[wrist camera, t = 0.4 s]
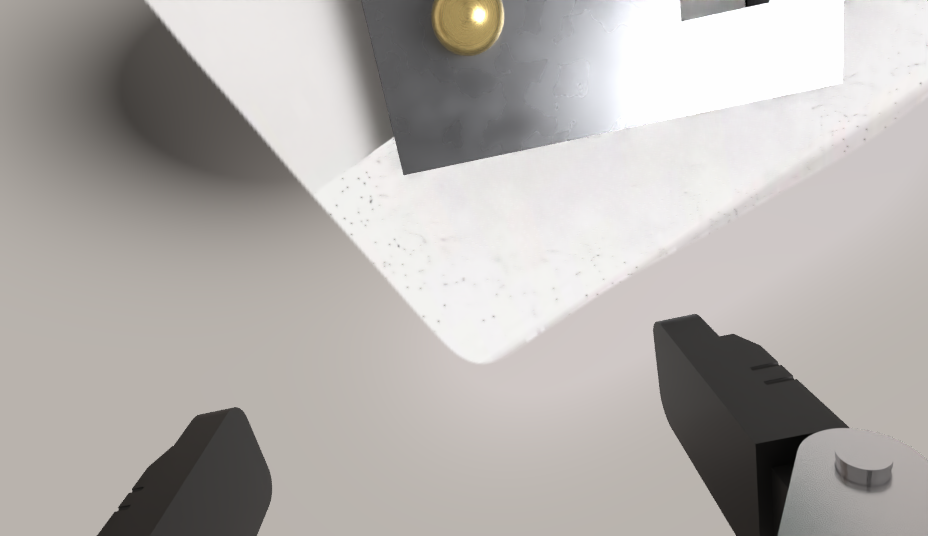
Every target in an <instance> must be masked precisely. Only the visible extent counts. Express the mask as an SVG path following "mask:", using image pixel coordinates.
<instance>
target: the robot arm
mask: <svg viewBox="0 0 928 536" xmlns="http://www.w3.org/2000/svg"><path fill="white" fill-rule="evenodd" d="M653 332H654V342H655V352H656V360H657V370H658V378H659V387H660V394H661V400H662V404H663V408H664V411H665V414H666V417H667V420H668V422H669V424H670V426H671V428H672V430H673V431H674V433H675V435H676V436H677V438H678V439H679V441H680V443H681V444H682V446H683V448H684V450H685V451H686V453H687V455H688V456H689V458H690V460H691V461H692V463H693V464H694V466H695V468H696V470H697V471H698V473H699V475H700V476H701V478H702V480H703V481H704V483H705V484H706V486H707V488H708V490H709V491H710V493H711V495H712V496H713V498H714V499H715V501H716V503H717V505H718V506H719V508H720V509H721V511H722V513H723V514H724V516H725V518H726V520H727V521H728V523H729V525H730V526H731V528H732V529H733V531H734V533H735V534H736V536H928V460H927V459H926V458H925V457H924V456H923V455H922V454H920V453H919V452H918V451H916V450H915V449H914V448H912V447H911V446H909V445H907V444H905V443H903V442H901V441H899V440H897V439H895V438H892V437H890V436H887V435H884V434H881V433H877V432H873V431H869V430H863V429H854V428H849V427H848V426H847V425H846V424H845V423H844V422H843V421H842V420H840V419H839V418H838V417H837V416H836V415H835V414H834V413H833V412H832V411H831V410H830V409H828V408H827V407H826V406H825V405H824V404H823V403H822V402H821V401H820V400H819V399H818V398H817V397H815V396H814V395H813V394H812V393H811V392H810V391H809V390H808V389H807V388H806V387H804V385H802V384H801V383H800V382H799V381H798V380H797V379H796V380H794V379H793V375H791V374H790V373H789V372H788V371H787V370H786V369H785V368H784V367H783V366H782V365H778V362H777V361H776V360H775V359H774V358H773V357H772V356H771V355H770V354H769V353H768V352H767V351H765V350H764V349H763V348H762V347H761V346H760V345H758V344H756V343H753V342H751V341H749V340H746V339H744V338H742V337H739V336H737V335H735V334H730V335H726V336H720V337H719V336H718V335H717V334H716V333H715V332H714V331H713V330H712V329H711V327H710V326H709V325H707V323H706V322H705V321H704V320H703V319H702V318H701V317H700V316H699V315H697V314H692V315H688V316H683V317H678V318H673V319H668V320H663V321H659V322H655V324H654V328H653ZM271 495H272V481H271V475H270V472H269V469H268V466H267V464H266V461H265V459H264V457H263V454H262V452H261V450H260V447H259V445H258V443H257V440H256V438H255V436H254V433H253V431H252V428H251V426H250V424H249V421H248V419H247V417H246V415H245V414H244V412H243V411H242V410H241V409H240V408H236V407H234V408H230V409H225V410H220V411H215V412H210V413H206V414H200V415H197V416H196V417H195V418H194V419H193V420H192V421H191V423H190V424H189V425H188V427H187V428H186V429H185V431H184V432H183V434H182V435H181V437H180V438H179V439H178V441H177V442H176V443H175V445H174V446H172V447H171V448H170V449H169V450H168V451H166V452H165V453H164V454H163V455H162V456H161V457H159V458H158V459H157V460H156V461H155V462H154V463H153V464H151V465H150V466H149V467H148V468H147V469H146V471H145V472H144V473H143V475H142V476H141V478H140V479H139V480H138V482H137V483H136V484H135V486H134V487H133V488H132V493H129V494H128V495H127V496H126V498H125V499H124V500H123V502H122V503H121V504H120V506H119V507H118V508H119V511H117V512H114V514H113V515H112V516H111V518H110V519H109V520H108V522H107V523H106V524H105V526H104V527H103V528H102V530H101V531H100V532H99V534H98V535H97V536H257V534H258V531H259V529H260V526H261V524H262V522H263V519H264V517H265V514H266V512H267V509H268V507H269V504H270V501H271Z"/></svg>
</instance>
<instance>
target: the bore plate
mask: <svg viewBox="0 0 928 536" xmlns="http://www.w3.org/2000/svg"><path fill="white" fill-rule="evenodd" d="M433 3H434V0H362V5H363V9H364V13H365V17H366V21H367V25H368V29H369V34H370V38H371V42H372V46H373V50H374V54H375V59H376V63H377V67H378V71H379V75H380V79H381V83H382V88H383V92H384V96H385V100H386V104H387V108H388V112H389V117H390V121H391V125H392V129H393V133H394V137H395V141H396V146H397V150H398V154H399V158H400V162H401V166H402V170H403V175H407V174H412V173H416V172H421V171H426V170H431V169H436V168H440V167H445V166H450V165H455V164H459V163H464V162H469V161H474V160H478V159H483V158H488V157H493V156H498V155H502V154H507V153H512V152H517V151H521V150H526V149H531V148H536V147H541V146H545V145H550V144H555V143H560V142H564V141H569V140H574V139H579V138H583V137H588V136H593V135H598V134H603V133H607V132H612V131H617V130H622V129H626V128H631V127H636V126H641V125H646V124H650V123H655V122H660V121H665V120H669V119H674V118H679V117H684V116H688V115H693V114H698V113H703V112H708V111H712V110H717V109H722V108H727V107H731V106H736V105H741V104H746V103H751V102H755V101H760V100H765V99H770V98H774V97H779V96H784V95H789V94H793V93H798V92H803V91H808V90H813V89H817V88H822V87H827V86H832V85H836V84H841V83H843V33H844V0H745V8H742V9H737V10H733V11H728V12H724V13H719V14H714V15H710V16H705V17H701V18H696V19H691V20H687V21H682V22H681V11H680V0H502V3H503V7H504V24H503V28H502V31H501V34H500V36H499V38H498V39H497V41H496V42H495V43H494V44H493V45H492V47H490V48H489V49H488V50H486V51H485V52H483V53H481V54H478V55H474V56H461V55H458V54H455V53H453V52H451V51H449V50H448V49H446V48H445V47H444V46H443V45H442V44H441V43H440V41H439V40H438V39H437V37H436V35H435V33H434V30H433V26H432V21H431V12H432V6H433Z"/></svg>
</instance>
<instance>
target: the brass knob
mask: <svg viewBox="0 0 928 536" xmlns="http://www.w3.org/2000/svg"><path fill="white" fill-rule="evenodd" d="M431 21H432V26H433V30H434V33H435V35H436V37H437V39H438V40H439V41H440V43H441V44H442V45H443V46H444V47H445V48H446V49H448V50H449V51H451V52H453V53H455V54H458V55H461V56H474V55H478V54H481V53H483V52H485V51H486V50H488V49H489V48H490V47H492V45H493V44H494V43H495V42H496V41H497V39H498V38H499V36H500V34H501V31H502V28H503V24H504V7H503V3H502V0H434V3H433V6H432V12H431Z"/></svg>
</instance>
